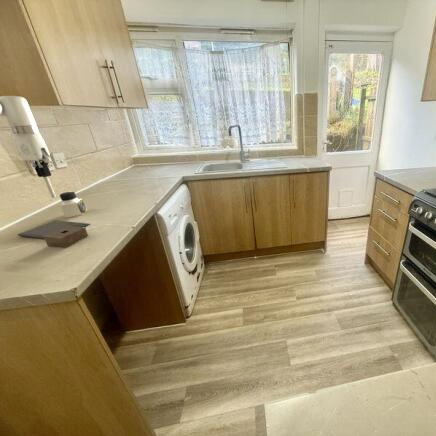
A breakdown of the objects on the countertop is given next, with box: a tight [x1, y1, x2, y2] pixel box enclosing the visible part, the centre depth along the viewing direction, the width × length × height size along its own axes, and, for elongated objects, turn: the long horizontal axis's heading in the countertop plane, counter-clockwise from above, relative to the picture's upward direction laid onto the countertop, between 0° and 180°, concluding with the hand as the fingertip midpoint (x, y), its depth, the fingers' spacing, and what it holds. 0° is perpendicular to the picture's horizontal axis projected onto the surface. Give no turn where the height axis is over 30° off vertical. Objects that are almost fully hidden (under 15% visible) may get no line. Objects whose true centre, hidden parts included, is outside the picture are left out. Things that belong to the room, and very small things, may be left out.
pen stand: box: [43, 226, 89, 249], centre depth 99 cm, size 9×9×4 cm
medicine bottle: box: [59, 191, 88, 218], centre depth 125 cm, size 7×7×12 cm
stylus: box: [38, 165, 57, 199], centre depth 105 cm, size 1×1×15 cm
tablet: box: [17, 219, 91, 240], centre depth 110 cm, size 15×22×1 cm
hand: (45, 176), depth 104 cm, fingers closed on stylus, 1 cm apart
